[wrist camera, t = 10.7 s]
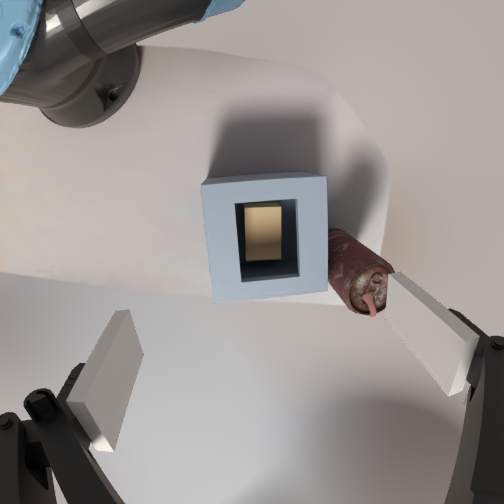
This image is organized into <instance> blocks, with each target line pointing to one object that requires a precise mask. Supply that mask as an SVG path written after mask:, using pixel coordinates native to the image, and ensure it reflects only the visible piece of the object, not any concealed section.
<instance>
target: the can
mask: <svg viewBox="0 0 504 504" xmlns="http://www.w3.org/2000/svg"><path fill="white" fill-rule="evenodd" d="M392 273H395V271H394V269H393V268H392V266H391V265H390V264H389V263H388V262H387V261H385V260H384V259H382V258H381V257H380V256H378V255H377V254H376V253H374V252H373V251H371V250H370V249H369V248H367V247H366V246H364V245H363V244H361V243H360V242H359V241H357V240H356V239H354V238H353V237H351V236H350V235H348V234H347V233H345V232H344V231H342V230H339V229H329V230H328V282H329V283H330V285H331V286H332V287H333V289H334V290H335V291H336V293H337V294H338V295H339V296H340V298H341V299H342V300H343V302H344V303H345V304H346V306H347V307H348V308H349V309H350V310H352V311H353V312H355V313H359V314H363V315H370V316H371V317H374V316H375V315H376V314H377V313H378V312H380V311H382V310H383V309H385V308H386V301H387V288H388V274H392Z"/></svg>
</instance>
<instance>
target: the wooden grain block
mask: <svg viewBox="0 0 504 504" xmlns="http://www.w3.org/2000/svg"><path fill="white" fill-rule="evenodd" d="M242 210H243V244H244V253H245V258H246V261H251V260H272V259H281V206H280V205H279V204H278V203H277V202H276V201H258V202H245V203H242Z"/></svg>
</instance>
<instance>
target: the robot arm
mask: <svg viewBox="0 0 504 504" xmlns="http://www.w3.org/2000/svg"><path fill="white" fill-rule="evenodd" d="M244 1H245V0H0V102H7V103H14V104H21V105H27V106H32V107H38V108H39V109H40V111H41V112H42V113H43V115H44V116H45V117H46V118H48V119H49V120H50V121H52V122H53V123H55V124H58V125H60V126H64V127H71V128H85V127H90V126H93V125H96V124H98V123H101V122H102V121H104V120H106V119H108V118H109V117H110V116H112V115H113V114H114V113H115V112H117V111H118V110H119V109H120V108H121V107H122V105H123V104H124V103H125V102H126V100H127V99H128V98H129V96H130V94H131V93H132V91H133V89H134V87H135V84H136V82H137V79H138V75H139V70H140V55H139V51H138V48H137V45H136V42H138V41H141V40H143V39H146V38H148V37H151V36H154V35H157V34H159V33H162V32H165V31H167V30H170V29H173V28H176V27H179V26H182V25H185V24H189V23H192V22H193V23H199V22H202V21H204V20H205V19H206V18H208V17H211V16H214V15H218V14H221V13H224V12H228V11H231V10H234V9H236V8H237V7H239V6H240V5H241V4H242V3H243V2H244ZM385 321H386V322H387V323H388V324H389V325H390V326H391V328H392V329H393V330H394V331H395V332H396V334H397V335H398V336H399V337H400V338H401V339H402V341H403V342H404V343H405V344H406V345H407V347H408V348H409V349H410V350H411V351H412V353H413V354H414V355H415V356H416V357H417V359H418V360H419V361H420V362H421V363H422V365H423V366H424V367H425V368H426V369H427V371H428V372H429V373H430V374H431V376H432V377H433V378H434V379H435V381H436V382H437V383H438V384H439V385H440V387H441V388H442V389H443V391H444V392H445V393H446V394H447V396H451V395H453V394H456V393H458V392H460V391H462V389H463V387H464V384H465V381H466V380H467V381H468V382H469V383H470V384H471V386H470V388H469V391H468V394H467V396H466V398H465V401H464V403H463V404H466V402H467V406H466V413H465V420H464V425H463V431H462V437H461V442H460V446H459V451H458V456H457V460H456V464H455V468H454V472H453V476H452V480H451V484H450V487H449V490H448V494H447V497H446V500H445V503H444V504H504V337H501V336H491V337H489V336H487V335H486V334H485V333H484V332H483V331H482V330H480V329H479V328H478V327H477V326H476V325H474V324H472V322H471V321H470V320H468V319H466V317H464V315H462V314H461V313H460V312H458V311H455V310H453V309H447V308H445V307H444V306H443V305H442V304H441V303H439V302H438V301H437V300H436V299H434V298H433V297H432V296H431V295H430V294H428V293H427V292H426V291H425V290H423V289H422V288H421V287H419V286H418V285H417V284H416V283H414V282H413V281H412V280H410V279H409V278H408V277H407V276H405V275H404V274H403V273H401V272H397V273H392V274H388V288H387V301H386V313H385ZM143 355H144V354H143V351H142V348H141V345H140V342H139V339H138V336H137V333H136V330H135V327H134V323H133V320H132V317H131V313H130V310H121V311H115V313H114V315H113V316H112V318H111V320H110V321H109V323H108V325H107V327H106V328H105V330H104V332H103V333H102V335H101V337H100V339H99V340H98V342H97V344H96V346H95V347H94V349H93V351H92V353H91V355H90V356H89V358H88V360H87V362H86V363H79V364H78V365H77V366H76V367H75V368H74V369H73V370H72V371H71V373H70V375H69V376H68V379H67V380H66V382H65V384H64V386H63V387H62V389H61V391H60V393H59V394H58V396H57V398H55V396H54V394H53V393H52V391H51V390H49V389H46V388H45V389H44V388H43V389H38V390H35V391H33V392H32V393H30V394H29V395H28V396H27V397H26V398H25V400H24V408H25V409H26V411H27V412H28V414H29V415H30V417H31V418H32V420H25V421H21V420H20V419H19V417H18V416H17V415H16V414H15V413H13V412H6V413H4V414H2V415H0V504H57V501H56V496H55V490H54V484H53V477H52V471H53V473H54V475H55V478H56V480H57V482H58V484H59V486H60V488H61V491H62V492H63V494H64V497H65V499H66V501H67V503H68V504H125V503H124V502H123V500H122V499H121V498H120V496H119V495H118V494H117V492H116V491H115V489H114V488H113V486H112V485H111V483H110V482H109V480H108V479H107V477H106V476H105V474H104V473H103V471H102V470H101V468H100V466H99V465H98V463H97V462H96V460H95V459H94V457H93V455H92V453H91V452H90V451H89V449H88V448H89V445H90V442H92V444H93V445H94V447H95V448H96V450H98V451H109V452H110V451H111V452H114V451H115V447H116V443H117V440H118V436H119V433H120V429H121V426H122V422H123V419H124V416H125V412H126V408H127V406H128V402H129V399H130V396H131V393H132V389H133V386H134V383H135V380H136V377H137V374H138V371H139V368H140V365H141V362H142V358H143ZM51 468H52V469H51Z"/></svg>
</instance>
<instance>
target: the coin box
mask: <svg viewBox="0 0 504 504" xmlns="http://www.w3.org/2000/svg"><path fill="white" fill-rule="evenodd" d="M201 196H202V206H203V215H204V225H205V234H206V243H207V251H208V260H209V268H210V276H211V284H212V292H213V299H214V303H220V302H231V301H242V300H252V299H262V298H272V297H281V296H290V295H299V294H308V293H316V292H324V291H328V212H327V179H326V176H322V175H318V174H313V173H309V172H304V171H295V172H278V173H262V174H249V175H236V176H225V177H214V178H207V179H206V180H205V181H204V182H203V183H202V184H201ZM258 201H276V202H277V203H278V204H279V205H280V206H281V259H272V260H251V261H246V258H245V253H244V244H243V210H242V203H245V202H258Z"/></svg>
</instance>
